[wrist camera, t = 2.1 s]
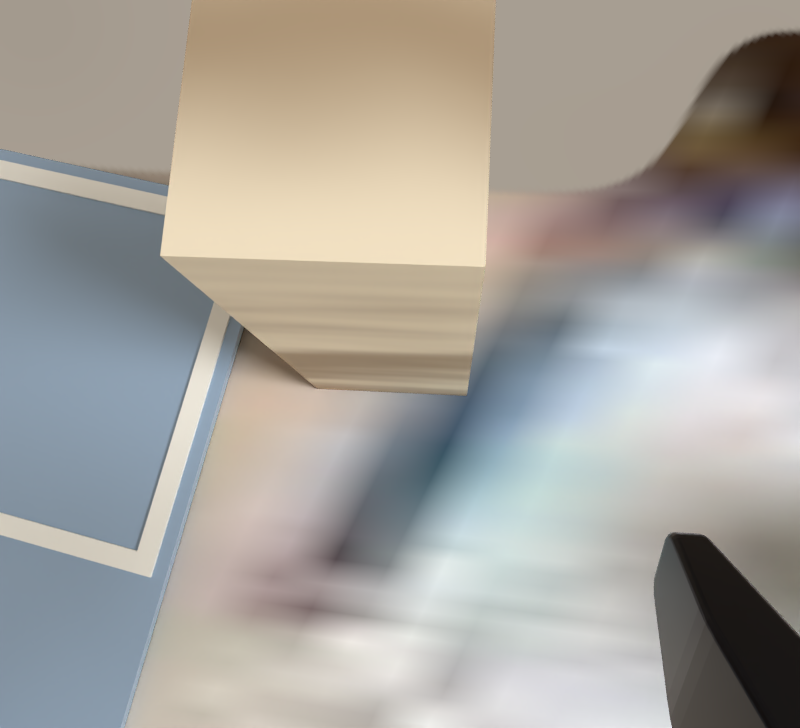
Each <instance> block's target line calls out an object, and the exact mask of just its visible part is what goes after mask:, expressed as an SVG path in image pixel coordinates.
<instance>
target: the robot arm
mask: <svg viewBox="0 0 800 728" xmlns="http://www.w3.org/2000/svg"><path fill="white" fill-rule="evenodd" d="M654 599H655V607H656V614H657V622H658V630H659V638H660V646H661V653H662V661H663V669H664V677H665V685H666V693H667V700H668V707H669V714H670V720H671V725H672V728H800V636H799V634H798V633H797V632H796V631H795V630H794V629H793V628H792V627H791V626H790V625H789V624H788V623H787V622H786V621H785V619H784V618H783V617H782V616H781V615H780V614H779V613H778V612H777V611H776V610H775V609H774V608H773V607H772V606H771V605H770V603H769V602H768V601H767V600H766V599H765V598H764V597H763V596H762V595H761V594H760V593H759V592H758V591H757V590H756V588H755V587H754V586H753V585H752V584H751V583H750V582H749V581H748V580H747V579H746V578H745V577H744V576H743V575H742V573H741V572H740V571H739V570H738V569H737V568H736V567H735V566H734V565H733V564H732V563H731V562H730V561H729V560H728V559H727V557H726V556H725V555H724V554H723V553H722V552H721V551H720V550H719V549H718V548H717V547H716V546H715V545H714V544H713V542H712V541H711V540H710V539H709V538H707V537H706V536H704V535H702V534H694V533H676V532H674V533H671V534H669V535H668V536H667V538H666V540H665V543H664V546H663V550H662V553H661V557H660V560H659V564H658V567H657V570H656V574H655V579H654Z"/></svg>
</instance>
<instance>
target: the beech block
mask: <svg viewBox="0 0 800 728" xmlns="http://www.w3.org/2000/svg"><path fill="white" fill-rule="evenodd" d="M495 4H496V0H192V4H191V13H190V20H189V28H188V36H187V45H186V52H185V61H184V68H183V77H182V85H181V92H180V100H179V109H178V117H177V124H176V132H175V141H174V149H173V156H172V165H171V172H170V180H169V188H168V196H167V204H166V212H165V220H164V228H163V236H162V244H161V252H160V256H161V257H162V258H163V259H164V260H165V261H167V262H168V263H169V264H170V265H171V266H173V267H174V268H175V269H176V270H177V271H178V272H180V273H181V274H182V275H183V276H184V277H186V278H187V279H188V280H189V281H190V282H191V283H193V284H194V285H195V286H196V287H197V288H199V289H200V290H201V291H202V292H203V293H205V294H206V295H207V296H208V297H209V298H210V299H212V300H213V301H214V302H215V303H216V304H218V305H219V306H220V307H221V308H222V309H223V310H225V311H226V312H227V313H228V314H229V315H231V316H232V317H233V318H234V319H235V320H236V321H238V322H239V323H240V324H241V325H242V326H244V327H245V328H246V329H247V330H248V331H249V332H251V333H252V334H253V335H254V336H255V337H257V338H258V339H259V340H260V341H261V342H262V343H264V344H265V345H266V346H267V347H268V348H270V349H271V350H272V351H273V352H274V353H276V354H277V355H278V356H279V357H280V358H281V359H283V360H284V361H285V362H286V363H287V364H289V365H290V366H291V367H292V368H293V369H294V370H296V371H297V372H298V373H299V374H300V375H302V376H303V377H304V378H305V379H306V380H307V381H309V382H310V383H311V384H312V385H313V386H315V387H316V388H317V389H337V390H358V391H378V392H399V393H420V394H441V395H462V396H467V389H468V382H469V376H470V369H471V362H472V355H473V348H474V342H475V335H476V328H477V321H478V314H479V307H480V301H481V294H482V287H483V280H484V273H485V265H486V239H487V213H488V187H489V160H490V135H491V134H490V133H491V109H492V108H491V107H492V82H493V56H494V54H493V53H494V30H495Z"/></svg>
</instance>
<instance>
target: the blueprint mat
mask: <svg viewBox="0 0 800 728" xmlns="http://www.w3.org/2000/svg"><path fill="white" fill-rule="evenodd" d="M168 188H169V186H168V185H164V184H159V183H154V182H150V181H145V180H141V179H136V178H131V177H127V176H122V175H118V174H113V173H109V172H104V171H99V170H95V169H90V168H86V167H81V166H76V165H72V164H67V163H63V162H58V161H53V160H49V159H44V158H40V157H35V156H31V155H26V154H22V153H17V152H12V151H8V150H3V149H0V728H124V727H125V724H126V720H127V717H128V714H129V710H130V707H131V703H132V700H133V697H134V693H135V690H136V687H137V683H138V680H139V677H140V673H141V670H142V667H143V663H144V660H145V657H146V653H147V650H148V647H149V643H150V640H151V637H152V633H153V630H154V627H155V623H156V620H157V616H158V613H159V610H160V606H161V603H162V600H163V596H164V593H165V590H166V586H167V583H168V580H169V576H170V573H171V570H172V566H173V563H174V560H175V556H176V553H177V550H178V546H179V543H180V540H181V536H182V533H183V530H184V526H185V523H186V519H187V516H188V513H189V509H190V506H191V503H192V499H193V496H194V493H195V489H196V486H197V483H198V479H199V476H200V473H201V469H202V466H203V463H204V459H205V456H206V453H207V449H208V446H209V443H210V439H211V436H212V433H213V429H214V426H215V422H216V419H217V416H218V412H219V409H220V406H221V402H222V399H223V396H224V392H225V389H226V386H227V382H228V379H229V376H230V372H231V369H232V366H233V362H234V359H235V356H236V352H237V349H238V346H239V342H240V339H241V336H242V332H243V329H244V326H242V325H241V324H240V323H239V322H238V321H236V320H235V319H234V318H233V317H232V316H231V315H229V314H228V313H227V312H226V311H225V310H223V309H222V308H221V307H220V306H219V305H218V304H216V303H215V302H214V301H213V300H212V299H210V298H209V297H208V296H207V295H206V294H205V293H203V292H202V291H201V290H200V289H199V288H197V287H196V286H195V285H194V284H193V283H191V282H190V281H189V280H188V279H187V278H186V277H184V276H183V275H182V274H181V273H180V272H178V271H177V270H176V269H175V268H174V267H173V266H171V265H170V264H169V263H168V262H167V261H165V260H164V259H163V258H162V257H161V256H160V252H161V244H162V236H163V228H164V220H165V212H166V204H167V196H168Z"/></svg>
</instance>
